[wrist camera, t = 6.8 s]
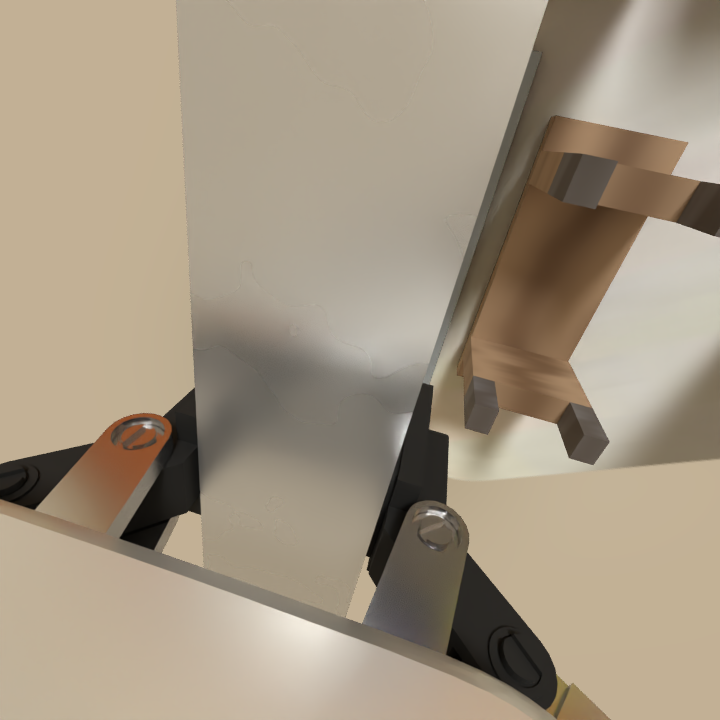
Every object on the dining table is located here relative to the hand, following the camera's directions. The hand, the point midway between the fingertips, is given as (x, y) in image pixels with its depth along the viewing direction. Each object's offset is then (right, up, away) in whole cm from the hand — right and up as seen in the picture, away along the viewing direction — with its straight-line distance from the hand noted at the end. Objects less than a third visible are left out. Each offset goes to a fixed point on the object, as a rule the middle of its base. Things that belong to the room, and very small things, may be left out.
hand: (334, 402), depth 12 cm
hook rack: (+16, +8, +18) cm, 25 cm away
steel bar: (0, 0, -1) cm, 1 cm away
